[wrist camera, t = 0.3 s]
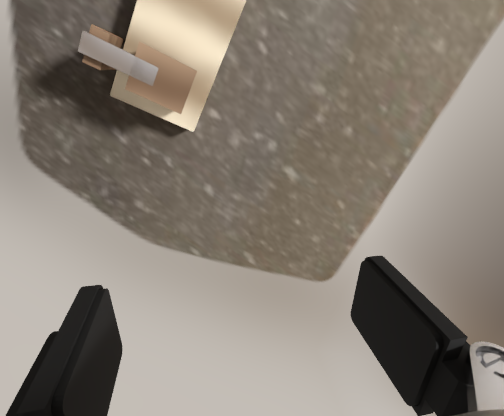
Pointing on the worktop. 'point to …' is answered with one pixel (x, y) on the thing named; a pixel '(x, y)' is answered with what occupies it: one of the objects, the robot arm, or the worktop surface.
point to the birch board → (181, 48)
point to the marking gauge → (139, 68)
